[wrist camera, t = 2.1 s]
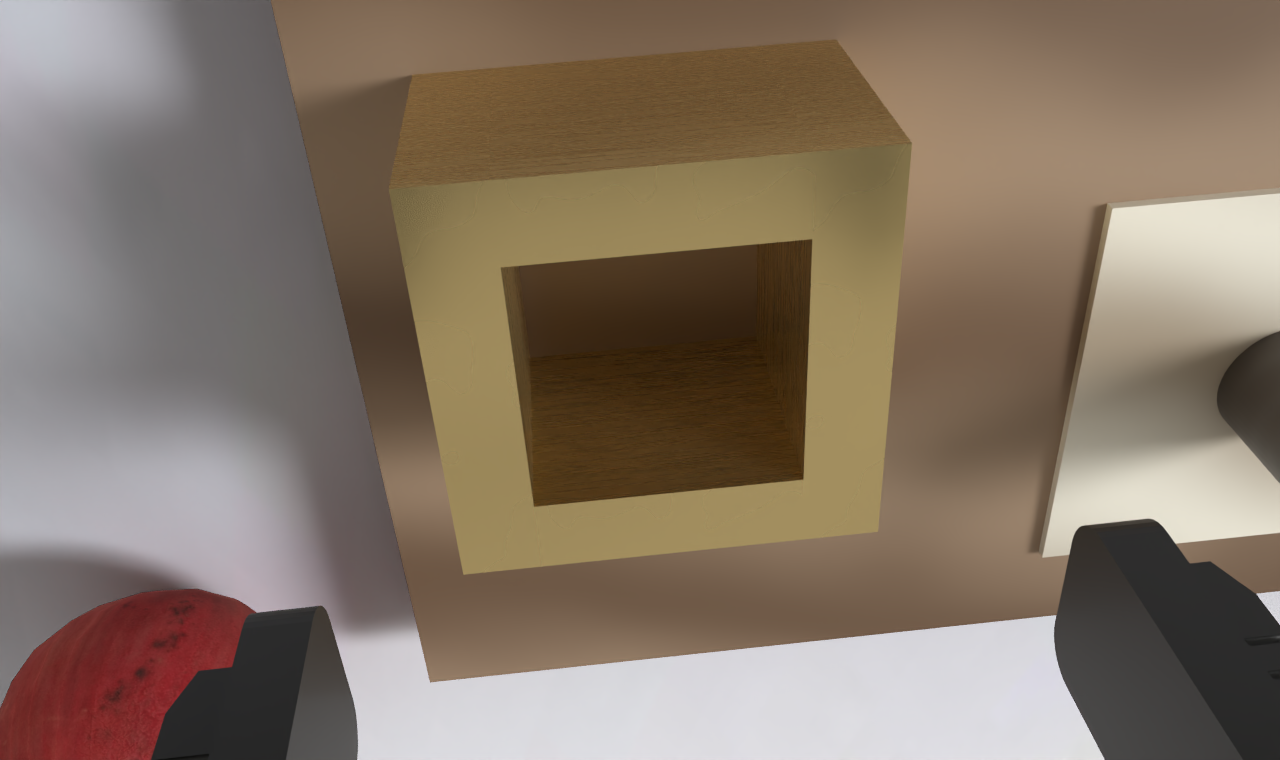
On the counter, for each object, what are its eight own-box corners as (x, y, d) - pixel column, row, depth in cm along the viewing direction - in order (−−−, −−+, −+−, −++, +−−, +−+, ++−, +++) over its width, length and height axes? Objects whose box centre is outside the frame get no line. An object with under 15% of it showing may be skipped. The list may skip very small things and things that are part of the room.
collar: (412, 75, 17) (388, 188, 14) (836, 39, 17) (912, 143, 14) (470, 418, 21) (463, 574, 17) (820, 384, 21) (878, 531, 18)
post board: (269, -145, 17) (115, 17, 10) (1678, -250, 18) (2348, -160, 11) (435, 614, 26) (409, 956, 20) (1365, 516, 27) (1639, 810, 21)
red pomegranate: (186, 459, 23) (56, 803, 16) (390, 609, 26) (349, 953, 19) (4, 600, 25) (-180, 965, 18) (214, 726, 28) (122, 1080, 21)
